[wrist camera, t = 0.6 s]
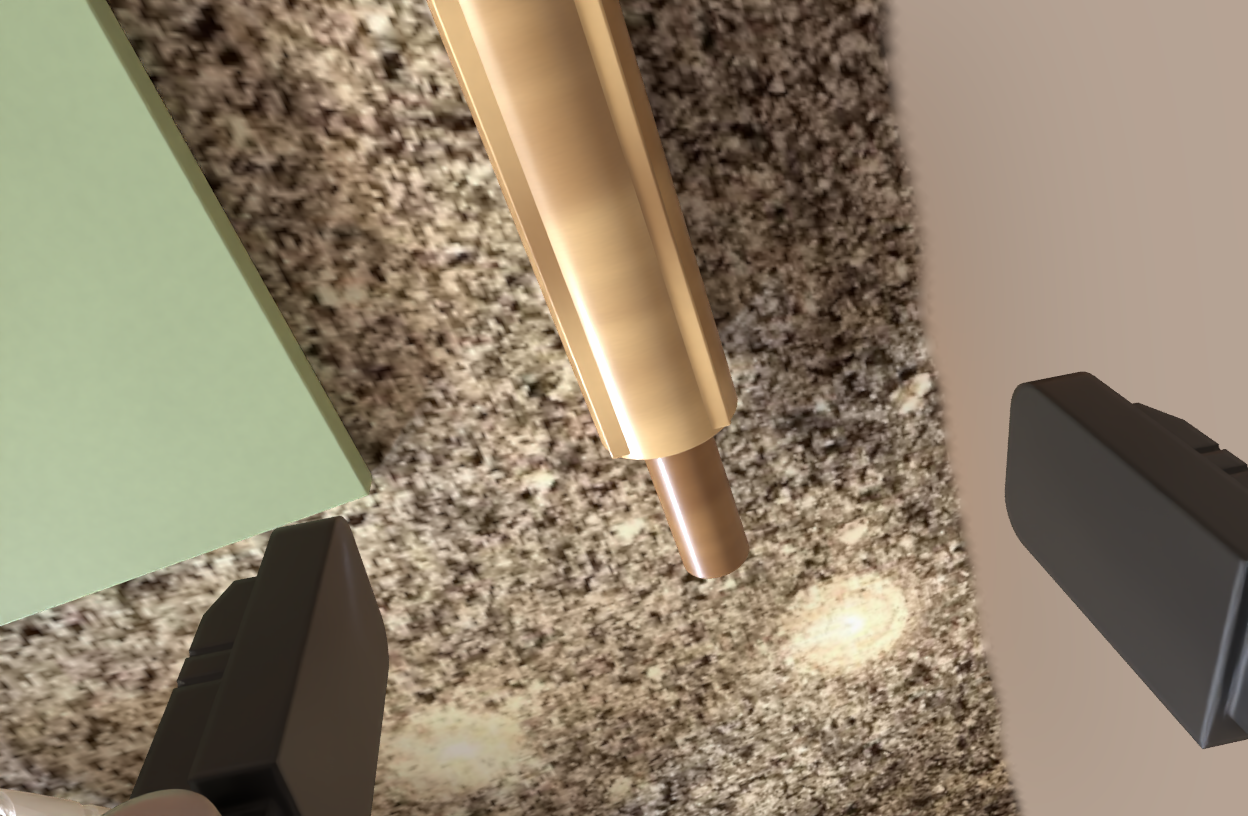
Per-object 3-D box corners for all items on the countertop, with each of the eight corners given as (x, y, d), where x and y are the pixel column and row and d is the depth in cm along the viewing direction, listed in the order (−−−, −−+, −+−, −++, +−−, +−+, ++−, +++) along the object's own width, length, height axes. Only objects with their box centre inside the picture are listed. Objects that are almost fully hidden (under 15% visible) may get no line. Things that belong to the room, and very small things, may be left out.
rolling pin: (296, -379, 21) (230, -439, 17) (481, -458, 21) (457, -539, 17) (650, 532, 35) (659, 617, 31) (768, 499, 34) (792, 580, 30)
